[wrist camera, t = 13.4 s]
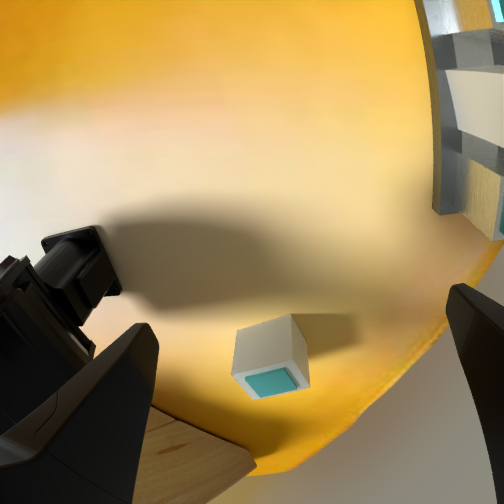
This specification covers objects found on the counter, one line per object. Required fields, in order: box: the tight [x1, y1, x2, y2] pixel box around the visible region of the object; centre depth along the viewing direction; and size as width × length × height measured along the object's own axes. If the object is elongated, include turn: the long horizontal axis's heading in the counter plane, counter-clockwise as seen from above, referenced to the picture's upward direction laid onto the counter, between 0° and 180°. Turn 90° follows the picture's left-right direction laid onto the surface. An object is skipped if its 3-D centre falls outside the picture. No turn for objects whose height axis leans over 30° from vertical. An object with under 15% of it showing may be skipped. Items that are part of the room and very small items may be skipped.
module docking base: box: [414, 0, 504, 242], centre depth 12 cm, size 7×17×6 cm, turn 11°
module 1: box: [231, 314, 310, 400], centre depth 25 cm, size 5×4×5 cm
